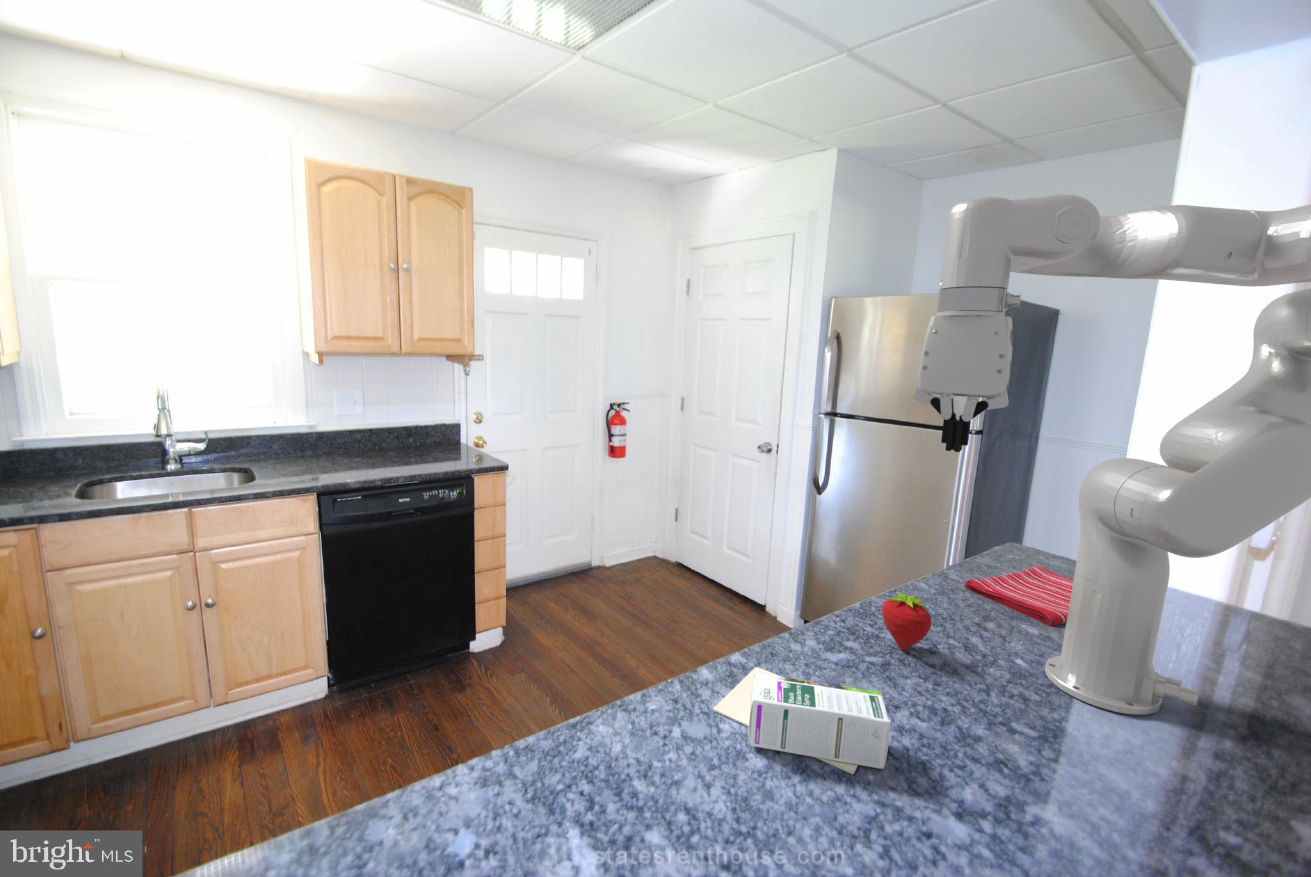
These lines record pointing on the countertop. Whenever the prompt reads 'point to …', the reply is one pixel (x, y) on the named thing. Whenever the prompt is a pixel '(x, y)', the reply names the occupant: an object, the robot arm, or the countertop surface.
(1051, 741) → the countertop surface
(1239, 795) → the countertop surface
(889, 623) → the strawberry
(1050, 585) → the dish towel
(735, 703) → the cream mat
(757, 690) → the syrup box
